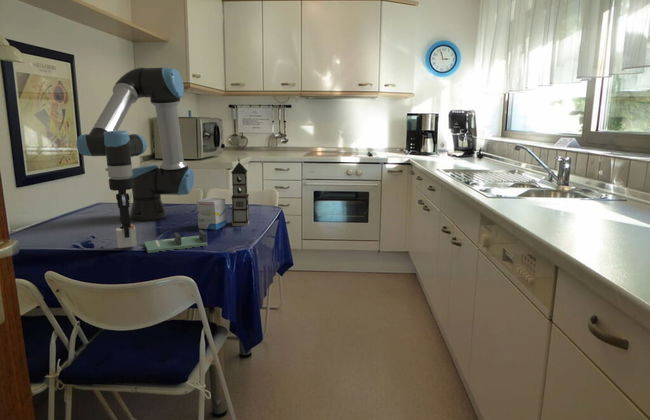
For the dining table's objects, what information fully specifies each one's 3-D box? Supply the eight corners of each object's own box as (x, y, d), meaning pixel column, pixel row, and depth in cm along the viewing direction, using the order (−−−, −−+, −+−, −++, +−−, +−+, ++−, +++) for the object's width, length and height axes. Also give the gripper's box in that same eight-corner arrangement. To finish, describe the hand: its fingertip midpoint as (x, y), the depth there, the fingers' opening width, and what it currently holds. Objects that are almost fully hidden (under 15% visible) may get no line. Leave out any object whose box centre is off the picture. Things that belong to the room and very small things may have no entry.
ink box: (227, 225, 193) (225, 198, 190) (216, 230, 185) (214, 201, 182) (209, 223, 195) (208, 196, 193) (197, 228, 188) (196, 200, 185)
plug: (117, 244, 159) (115, 225, 158) (136, 242, 162) (134, 223, 160) (118, 248, 156) (116, 228, 154) (136, 245, 158) (135, 226, 157)
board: (144, 244, 165) (143, 233, 164) (200, 237, 174) (200, 227, 173) (147, 253, 154) (147, 241, 153) (207, 245, 163) (207, 235, 162)
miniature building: (248, 225, 192) (246, 154, 186) (231, 226, 192) (228, 154, 185) (249, 221, 199) (247, 152, 193) (233, 222, 199) (230, 152, 192)
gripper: (107, 174, 159) (114, 239, 165) (109, 182, 144) (116, 252, 150) (130, 173, 163) (136, 236, 168) (134, 180, 148) (141, 249, 153)
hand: (127, 243), depth 159 cm, fingers closed on plug, 4 cm apart
